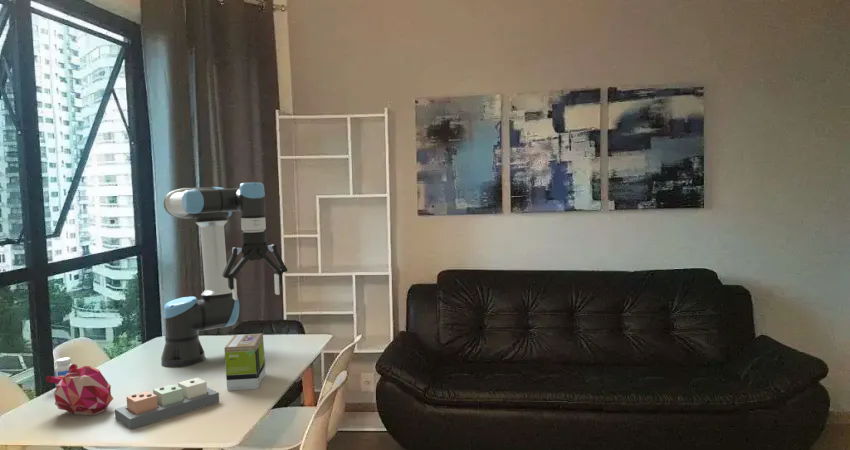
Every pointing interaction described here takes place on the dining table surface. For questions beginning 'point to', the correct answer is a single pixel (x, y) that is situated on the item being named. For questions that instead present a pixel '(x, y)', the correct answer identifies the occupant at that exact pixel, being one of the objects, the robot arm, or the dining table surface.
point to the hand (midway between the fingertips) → (256, 296)
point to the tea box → (245, 362)
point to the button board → (165, 410)
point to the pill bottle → (62, 367)
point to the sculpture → (82, 391)
